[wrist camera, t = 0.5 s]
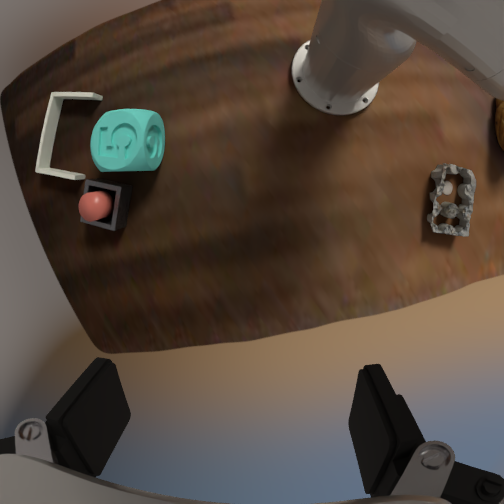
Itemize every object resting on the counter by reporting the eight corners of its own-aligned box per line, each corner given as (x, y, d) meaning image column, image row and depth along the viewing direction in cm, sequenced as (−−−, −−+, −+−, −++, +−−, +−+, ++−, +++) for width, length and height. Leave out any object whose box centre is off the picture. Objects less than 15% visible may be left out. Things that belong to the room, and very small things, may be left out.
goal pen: (61, 95, 39) (51, 92, 36) (102, 96, 39) (93, 92, 36) (46, 171, 43) (35, 172, 40) (84, 179, 43) (74, 179, 40)
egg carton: (430, 160, 39) (443, 159, 35) (466, 170, 39) (480, 171, 35) (421, 228, 42) (433, 233, 38) (457, 234, 41) (470, 240, 37)
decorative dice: (119, 120, 40) (92, 112, 32) (167, 117, 40) (146, 106, 32) (116, 171, 42) (88, 172, 34) (163, 170, 42) (141, 170, 34)
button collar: (98, 178, 42) (85, 179, 39) (132, 185, 42) (121, 187, 39) (93, 217, 44) (80, 221, 40) (126, 226, 44) (114, 231, 40)
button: (93, 188, 40) (80, 190, 36) (115, 193, 40) (103, 195, 36) (90, 214, 41) (77, 218, 38) (111, 220, 41) (99, 224, 38)
